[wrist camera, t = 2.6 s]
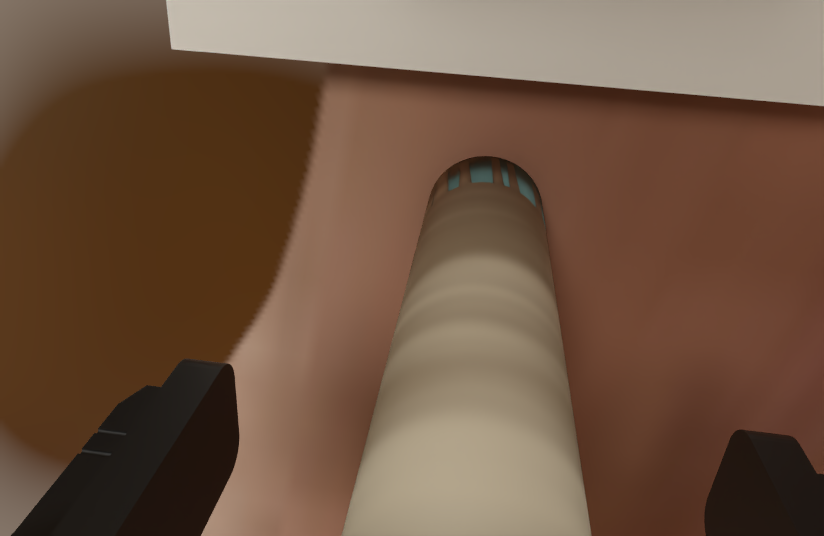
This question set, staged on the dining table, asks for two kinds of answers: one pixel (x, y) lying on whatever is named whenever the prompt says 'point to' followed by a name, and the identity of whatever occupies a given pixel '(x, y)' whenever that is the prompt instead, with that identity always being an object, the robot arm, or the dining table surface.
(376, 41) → the cup bracket
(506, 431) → the rail post
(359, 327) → the dining table surface
